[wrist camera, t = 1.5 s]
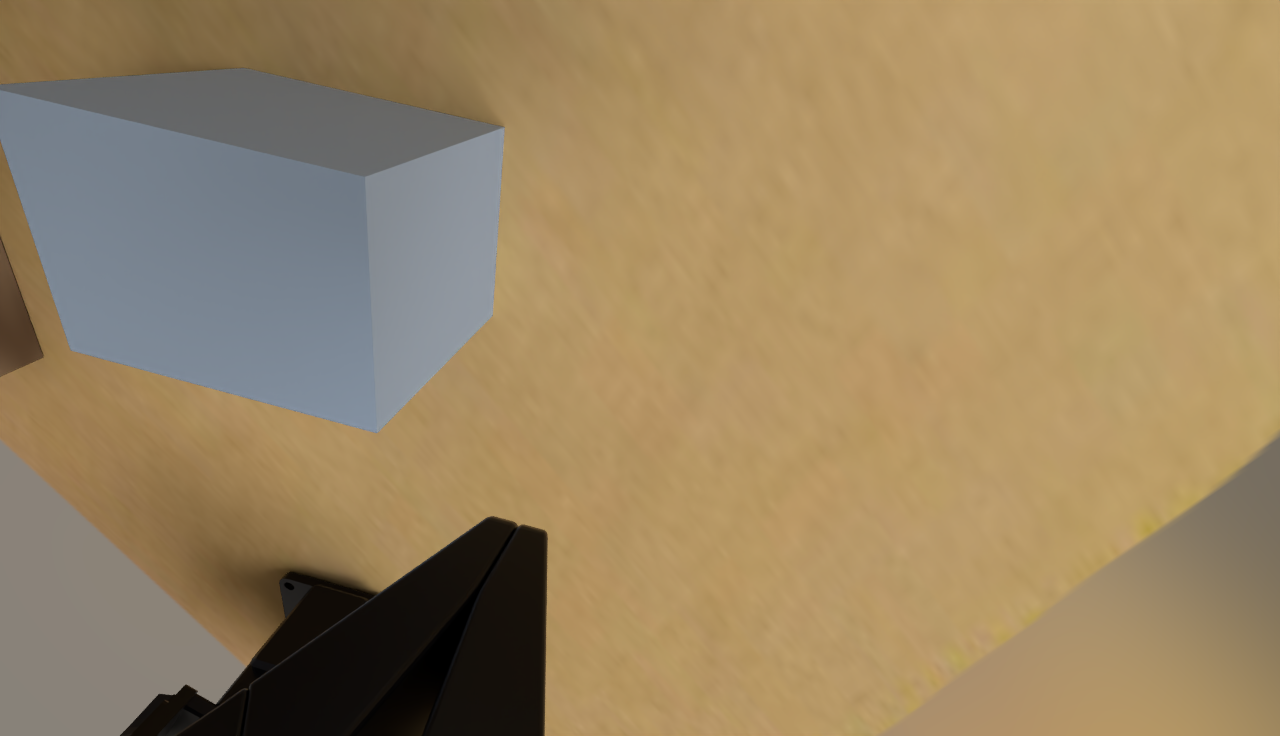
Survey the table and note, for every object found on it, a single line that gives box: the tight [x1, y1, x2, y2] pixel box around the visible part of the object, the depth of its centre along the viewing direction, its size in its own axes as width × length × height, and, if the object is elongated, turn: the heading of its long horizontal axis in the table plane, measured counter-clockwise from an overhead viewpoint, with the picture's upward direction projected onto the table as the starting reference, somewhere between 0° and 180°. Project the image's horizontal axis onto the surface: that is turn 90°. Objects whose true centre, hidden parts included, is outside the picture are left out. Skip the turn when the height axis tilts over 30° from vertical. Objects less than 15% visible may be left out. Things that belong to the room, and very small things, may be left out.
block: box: [0, 68, 505, 433], centre depth 16 cm, size 6×8×7 cm
